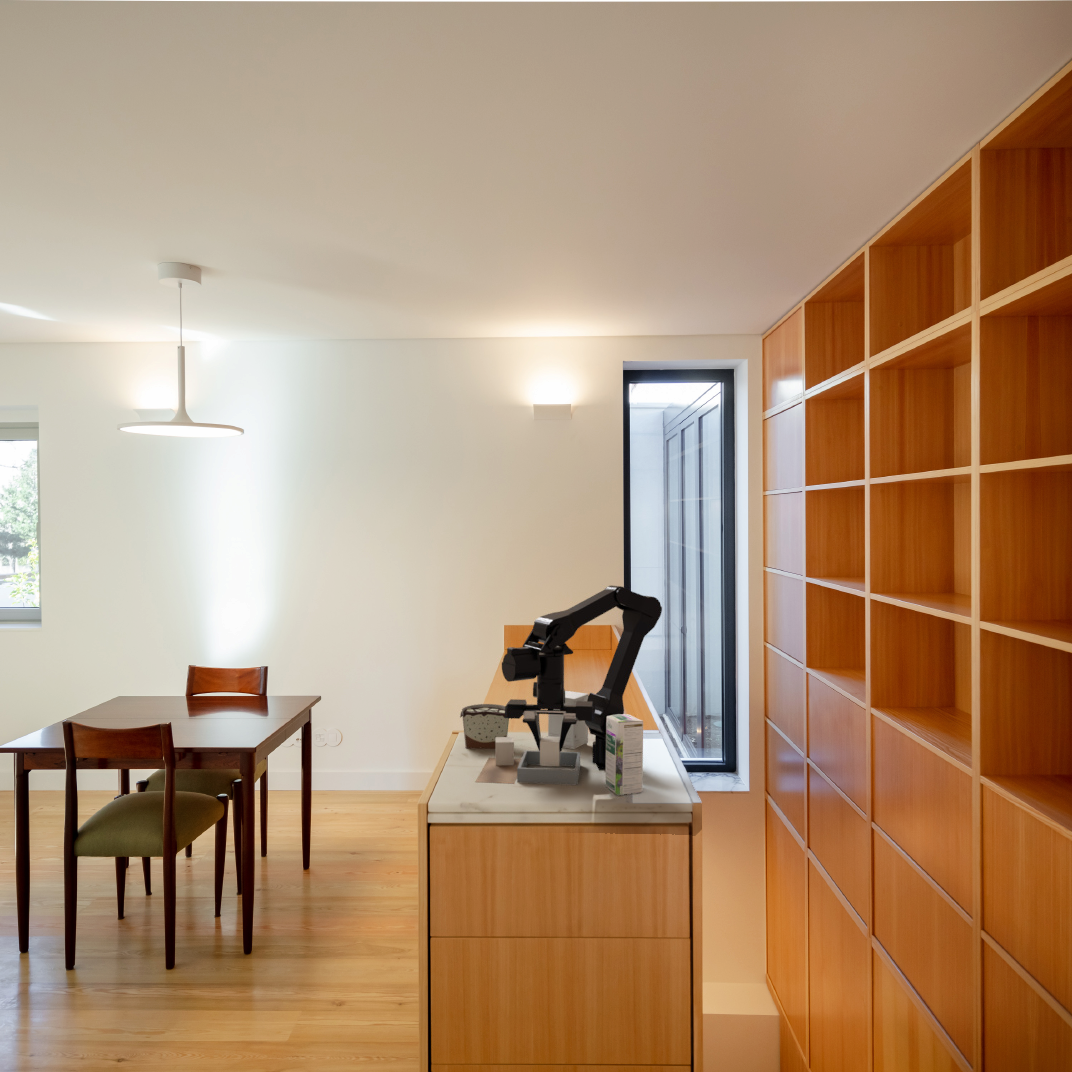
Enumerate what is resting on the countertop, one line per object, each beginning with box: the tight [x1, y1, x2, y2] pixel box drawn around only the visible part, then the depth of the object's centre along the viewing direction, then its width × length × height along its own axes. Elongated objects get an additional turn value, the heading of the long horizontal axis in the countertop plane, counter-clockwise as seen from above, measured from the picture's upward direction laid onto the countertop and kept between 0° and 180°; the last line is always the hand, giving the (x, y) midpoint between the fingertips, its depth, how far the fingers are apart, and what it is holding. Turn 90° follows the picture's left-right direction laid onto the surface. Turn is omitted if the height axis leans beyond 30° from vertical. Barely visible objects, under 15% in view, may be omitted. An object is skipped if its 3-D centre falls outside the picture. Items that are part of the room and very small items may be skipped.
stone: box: [539, 735, 562, 767], centre depth 150 cm, size 4×4×5 cm
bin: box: [516, 749, 581, 786], centre depth 150 cm, size 12×12×4 cm
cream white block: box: [494, 736, 515, 765], centre depth 157 cm, size 4×4×5 cm
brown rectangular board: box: [474, 757, 521, 785], centre depth 152 cm, size 8×16×1 cm, turn 174°
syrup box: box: [604, 713, 644, 796], centre depth 143 cm, size 6×6×14 cm
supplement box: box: [547, 690, 589, 750], centre depth 172 cm, size 7×7×13 cm
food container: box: [459, 703, 513, 750], centre depth 170 cm, size 12×6×10 cm, turn 84°
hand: (550, 750), depth 150 cm, fingers closed on stone, 4 cm apart
